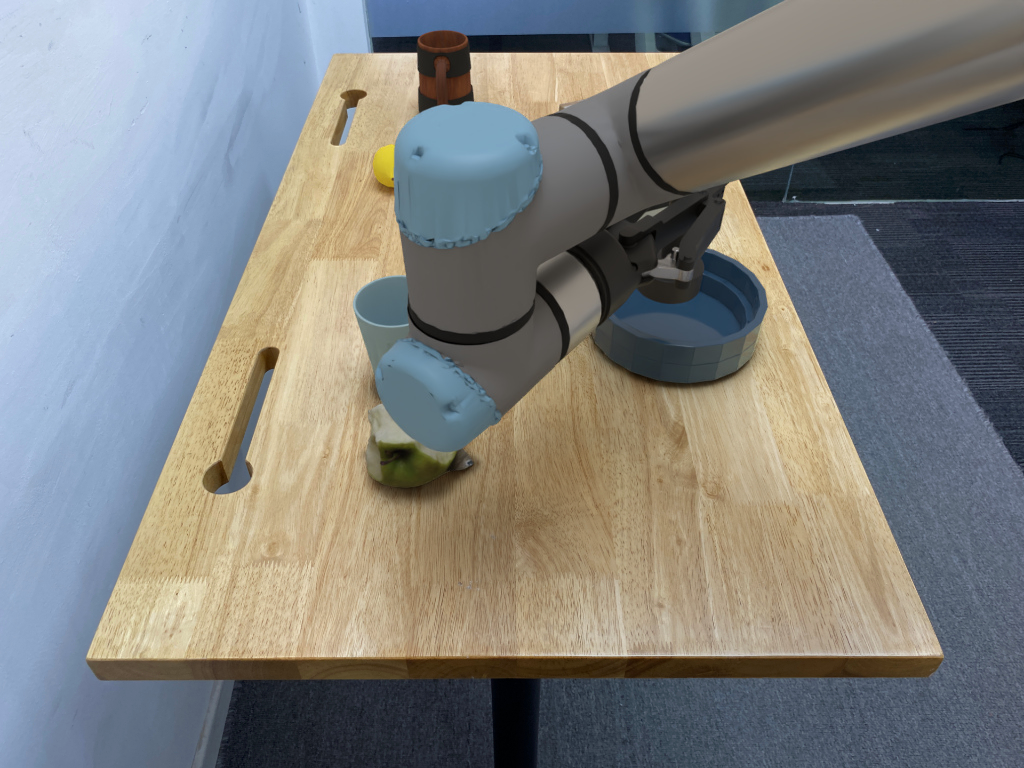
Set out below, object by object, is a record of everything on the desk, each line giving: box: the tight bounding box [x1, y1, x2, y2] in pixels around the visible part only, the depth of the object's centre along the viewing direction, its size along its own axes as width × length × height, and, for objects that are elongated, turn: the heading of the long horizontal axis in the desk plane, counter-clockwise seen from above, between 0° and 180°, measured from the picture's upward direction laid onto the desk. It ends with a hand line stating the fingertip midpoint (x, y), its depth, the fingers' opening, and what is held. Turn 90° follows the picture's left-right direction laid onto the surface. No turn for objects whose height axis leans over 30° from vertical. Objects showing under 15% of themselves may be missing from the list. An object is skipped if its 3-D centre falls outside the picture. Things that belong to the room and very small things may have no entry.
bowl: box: [590, 247, 769, 384], centre depth 80 cm, size 18×18×6 cm
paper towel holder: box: [637, 198, 704, 304], centre depth 65 cm, size 6×6×19 cm
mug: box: [416, 29, 475, 114], centre depth 115 cm, size 9×12×12 cm
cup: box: [352, 274, 409, 376], centre depth 73 cm, size 8×8×10 cm
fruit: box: [365, 403, 474, 489], centre depth 67 cm, size 9×9×8 cm
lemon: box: [372, 143, 395, 188], centre depth 103 cm, size 7×5×5 cm
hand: (714, 162), depth 68 cm, fingers closed on paper towel holder, 2 cm apart
